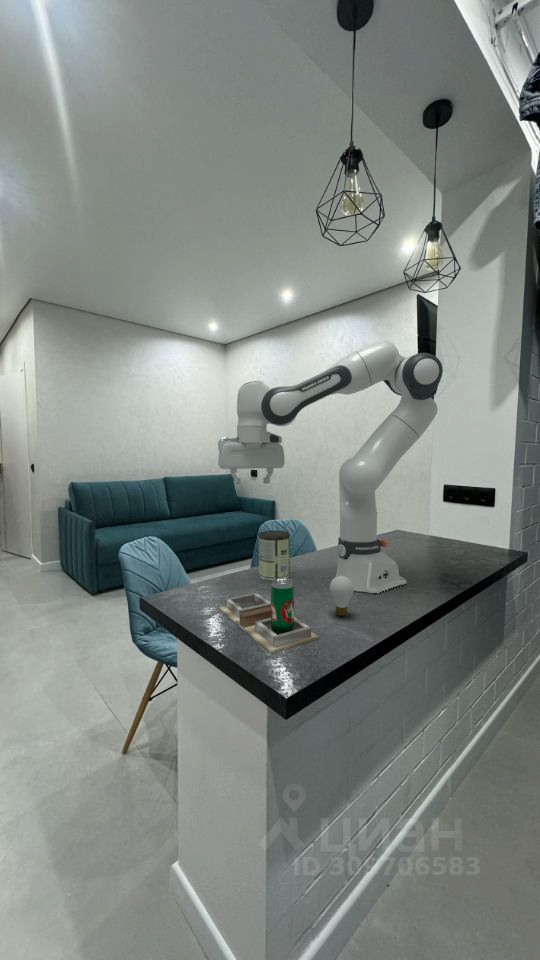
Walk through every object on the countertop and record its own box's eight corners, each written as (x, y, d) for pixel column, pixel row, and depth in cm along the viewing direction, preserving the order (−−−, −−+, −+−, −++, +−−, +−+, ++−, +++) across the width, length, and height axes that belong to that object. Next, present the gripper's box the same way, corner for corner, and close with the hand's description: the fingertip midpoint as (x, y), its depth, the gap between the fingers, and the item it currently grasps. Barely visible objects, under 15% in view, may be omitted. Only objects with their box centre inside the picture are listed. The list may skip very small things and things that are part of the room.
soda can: (271, 628, 89) (271, 576, 88) (293, 628, 89) (293, 576, 88) (271, 639, 84) (270, 584, 83) (294, 639, 84) (294, 584, 83)
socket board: (219, 609, 101) (219, 597, 101) (259, 600, 107) (259, 589, 107) (270, 653, 79) (270, 638, 79) (318, 639, 85) (318, 625, 85)
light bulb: (331, 610, 101) (331, 571, 100) (354, 612, 99) (354, 574, 99) (327, 619, 95) (328, 579, 95) (352, 622, 94) (352, 581, 93)
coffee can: (266, 569, 136) (266, 529, 135) (294, 573, 132) (294, 531, 131) (253, 578, 127) (252, 535, 126) (282, 582, 123) (282, 538, 122)
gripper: (221, 436, 110) (221, 485, 111) (286, 437, 118) (286, 483, 119) (215, 437, 115) (215, 484, 116) (278, 438, 124) (278, 482, 125)
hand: (252, 483), depth 118 cm, fingers open, 8 cm apart
